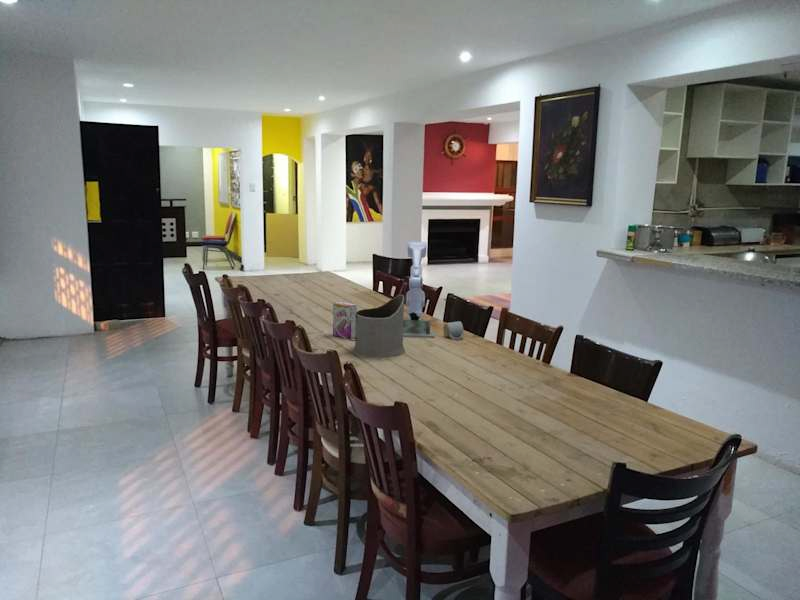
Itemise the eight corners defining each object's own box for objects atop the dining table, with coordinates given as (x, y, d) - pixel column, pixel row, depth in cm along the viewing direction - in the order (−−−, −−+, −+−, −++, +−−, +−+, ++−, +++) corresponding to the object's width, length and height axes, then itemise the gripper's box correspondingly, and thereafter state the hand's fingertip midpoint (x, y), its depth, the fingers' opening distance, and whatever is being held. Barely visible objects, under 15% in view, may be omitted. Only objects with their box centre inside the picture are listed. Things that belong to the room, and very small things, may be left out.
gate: (401, 331, 303) (401, 320, 302) (401, 331, 304) (401, 319, 303) (429, 332, 302) (430, 321, 301) (429, 331, 304) (430, 320, 303)
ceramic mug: (442, 335, 303) (442, 320, 302) (457, 334, 306) (458, 319, 304) (450, 341, 293) (451, 325, 292) (466, 340, 296) (466, 324, 294)
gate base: (393, 332, 306) (394, 319, 305) (433, 334, 306) (434, 320, 304) (393, 336, 298) (393, 322, 297) (434, 337, 298) (434, 323, 297)
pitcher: (411, 356, 265) (413, 300, 260) (339, 360, 256) (339, 302, 252) (397, 343, 287) (398, 290, 282) (330, 346, 278) (330, 292, 273)
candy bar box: (332, 336, 297) (332, 302, 294) (338, 334, 301) (338, 301, 298) (350, 339, 291) (351, 305, 288) (357, 337, 296) (357, 304, 292)
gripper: (403, 298, 308) (402, 324, 310) (412, 303, 294) (411, 331, 297) (416, 297, 310) (415, 323, 312) (425, 303, 296) (425, 330, 299)
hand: (414, 327), depth 305 cm, fingers closed, pressing on gate
